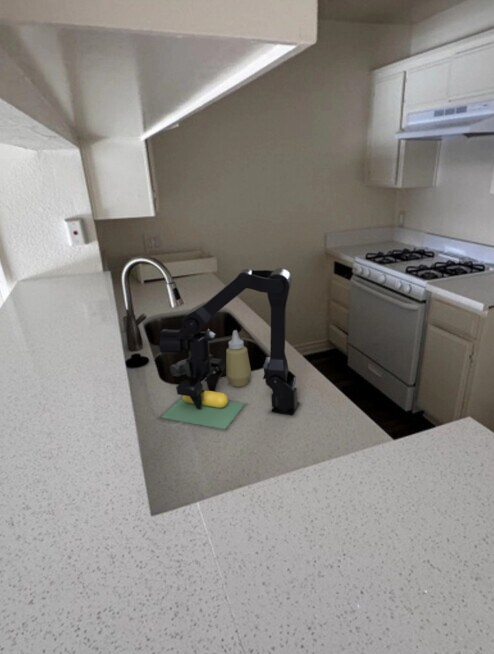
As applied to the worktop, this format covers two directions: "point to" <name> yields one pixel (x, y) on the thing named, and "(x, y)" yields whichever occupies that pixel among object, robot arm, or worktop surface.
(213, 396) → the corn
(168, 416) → the towel
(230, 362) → the squeeze bottle
